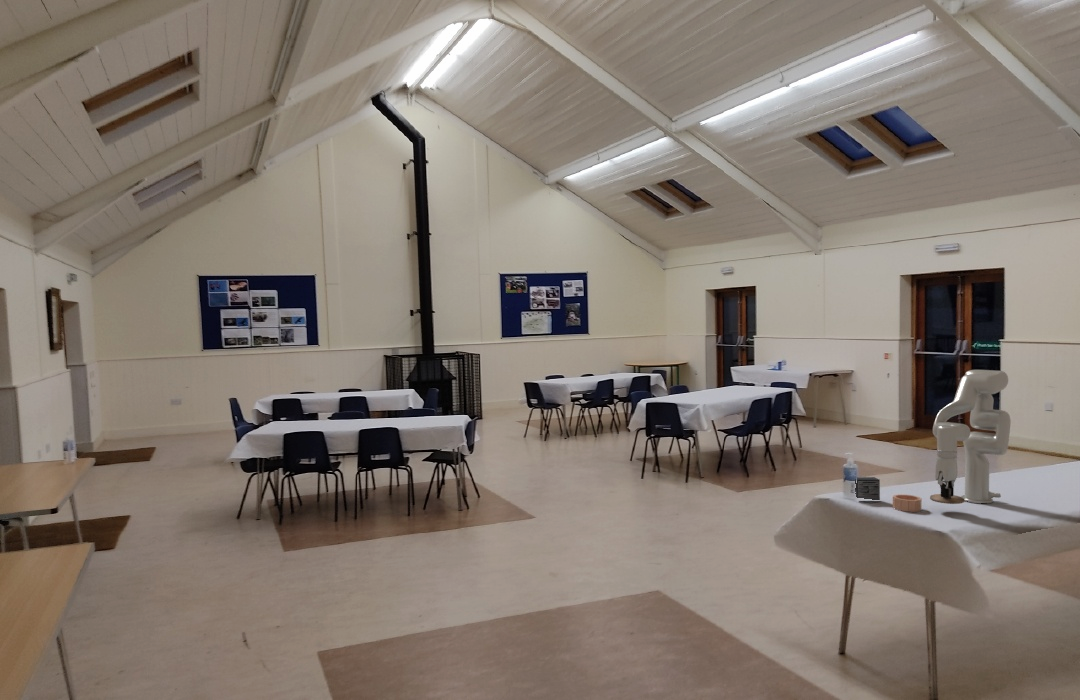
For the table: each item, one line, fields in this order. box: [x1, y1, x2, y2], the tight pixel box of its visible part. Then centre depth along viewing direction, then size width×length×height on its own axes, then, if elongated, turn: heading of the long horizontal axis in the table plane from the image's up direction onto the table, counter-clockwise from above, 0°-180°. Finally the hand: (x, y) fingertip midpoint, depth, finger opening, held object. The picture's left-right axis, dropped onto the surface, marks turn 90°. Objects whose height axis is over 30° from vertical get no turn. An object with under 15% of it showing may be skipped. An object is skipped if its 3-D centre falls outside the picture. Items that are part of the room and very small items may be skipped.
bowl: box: [892, 494, 923, 513], centre depth 323 cm, size 11×11×5 cm
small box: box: [855, 476, 881, 501], centre depth 339 cm, size 11×6×10 cm, turn 88°
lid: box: [929, 488, 966, 505], centre depth 316 cm, size 13×13×5 cm
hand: (947, 496), depth 317 cm, fingers closed on lid, 3 cm apart
